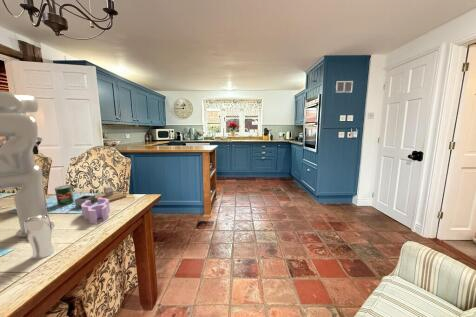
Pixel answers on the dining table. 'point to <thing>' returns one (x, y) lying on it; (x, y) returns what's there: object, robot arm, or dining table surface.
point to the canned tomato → (64, 195)
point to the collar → (83, 199)
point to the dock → (115, 196)
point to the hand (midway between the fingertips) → (24, 155)
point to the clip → (96, 210)
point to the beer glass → (39, 235)
